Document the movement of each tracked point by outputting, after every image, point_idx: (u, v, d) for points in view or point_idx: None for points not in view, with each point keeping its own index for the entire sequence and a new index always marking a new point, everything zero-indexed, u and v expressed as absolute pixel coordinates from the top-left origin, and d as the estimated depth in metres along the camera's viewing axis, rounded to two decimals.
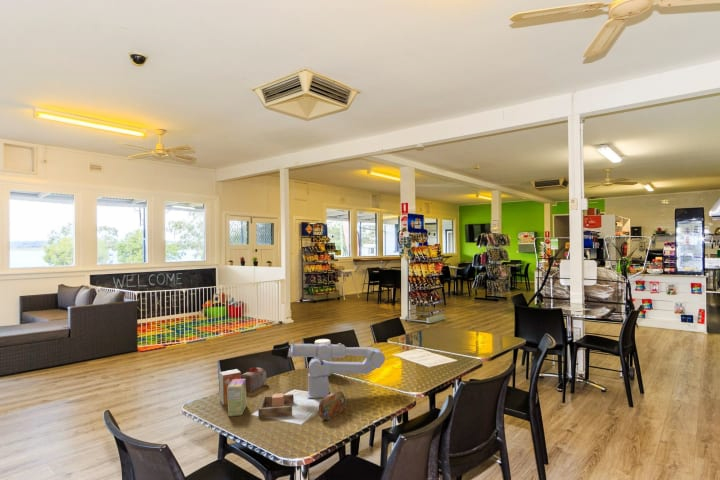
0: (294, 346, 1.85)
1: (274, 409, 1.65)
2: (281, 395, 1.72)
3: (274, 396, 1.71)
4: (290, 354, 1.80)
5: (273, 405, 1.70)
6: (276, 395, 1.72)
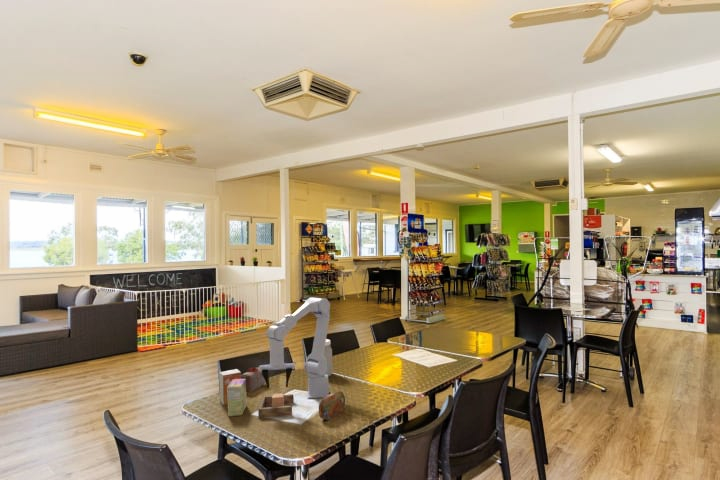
0: (281, 364, 1.71)
1: (274, 409, 1.65)
2: (281, 395, 1.72)
3: (274, 396, 1.71)
4: (294, 366, 1.73)
5: (273, 405, 1.70)
6: (276, 395, 1.72)
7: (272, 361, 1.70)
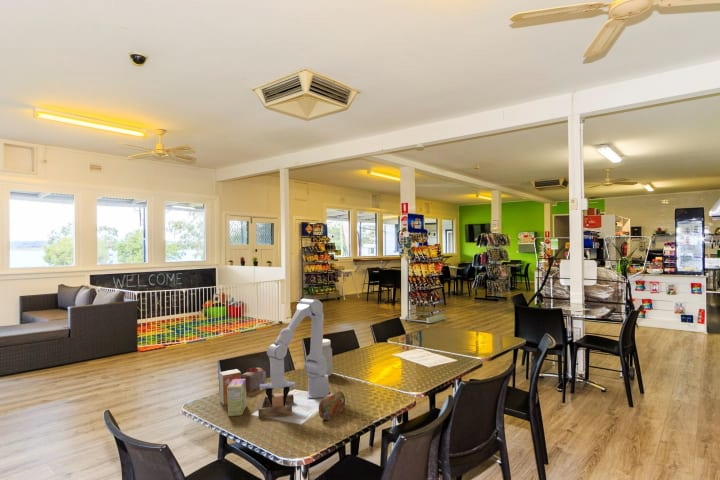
0: (281, 383, 1.71)
1: (274, 409, 1.65)
2: (281, 395, 1.72)
3: (274, 396, 1.71)
4: None
5: (273, 405, 1.70)
6: (276, 395, 1.72)
7: (273, 380, 1.70)
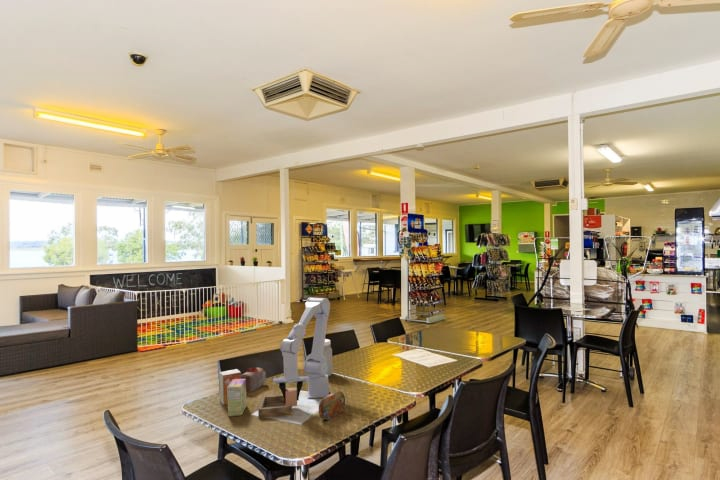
0: (295, 378, 1.71)
1: (274, 409, 1.65)
2: (294, 389, 1.73)
3: (287, 390, 1.72)
4: (308, 379, 1.74)
5: (287, 399, 1.71)
6: (289, 389, 1.73)
7: (286, 374, 1.71)
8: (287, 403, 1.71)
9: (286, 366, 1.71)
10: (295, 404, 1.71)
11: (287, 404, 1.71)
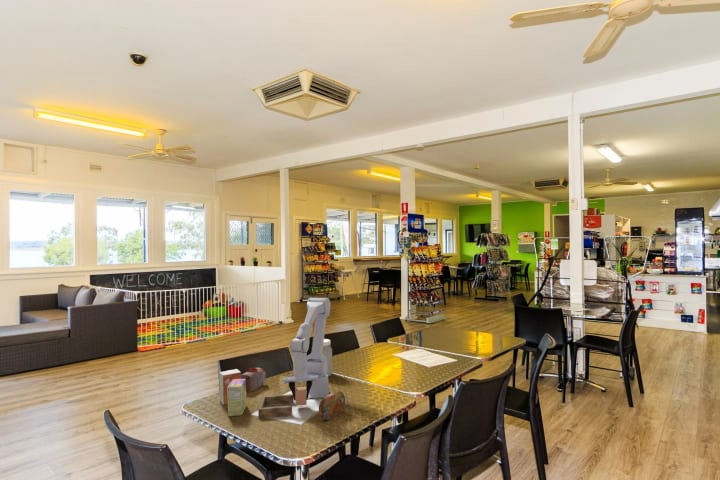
0: (304, 377, 1.72)
1: (274, 409, 1.65)
2: (304, 388, 1.73)
3: (297, 389, 1.72)
4: (317, 378, 1.74)
5: (296, 398, 1.71)
6: (299, 388, 1.74)
7: (296, 374, 1.71)
8: (297, 402, 1.71)
9: (297, 365, 1.71)
10: (305, 403, 1.71)
11: (297, 403, 1.71)
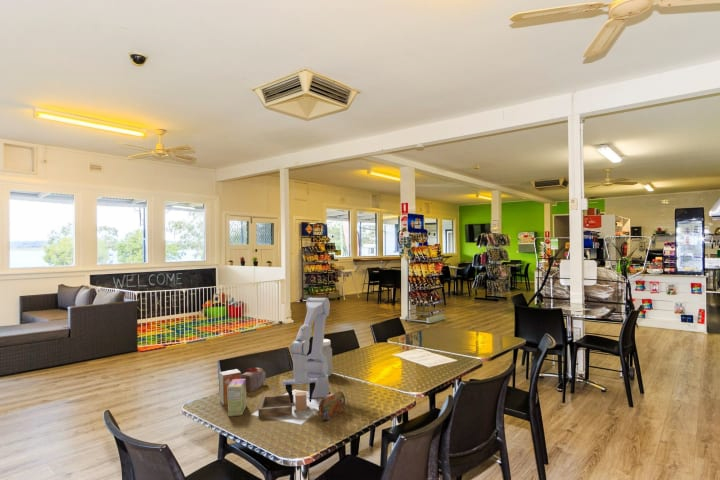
0: (304, 379, 1.72)
1: (274, 409, 1.65)
2: (304, 393, 1.73)
3: (297, 394, 1.72)
4: (317, 381, 1.74)
5: (296, 403, 1.71)
6: (299, 393, 1.73)
7: (296, 376, 1.71)
8: (297, 407, 1.71)
9: (297, 368, 1.71)
10: (305, 408, 1.71)
11: (297, 408, 1.71)
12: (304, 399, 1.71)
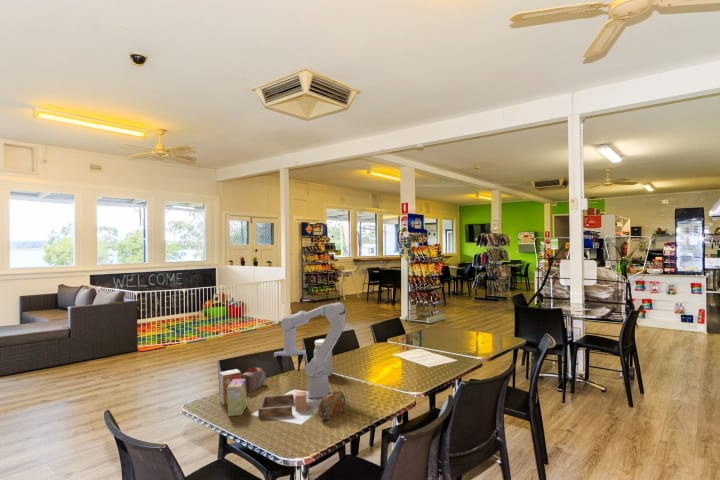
0: (293, 351, 1.92)
1: (274, 409, 1.65)
2: (304, 393, 1.73)
3: (297, 394, 1.72)
4: (305, 353, 1.95)
5: (296, 403, 1.71)
6: (299, 393, 1.73)
7: (286, 348, 1.91)
8: (297, 407, 1.71)
9: None
10: (305, 408, 1.71)
11: (297, 408, 1.71)
12: (304, 399, 1.71)
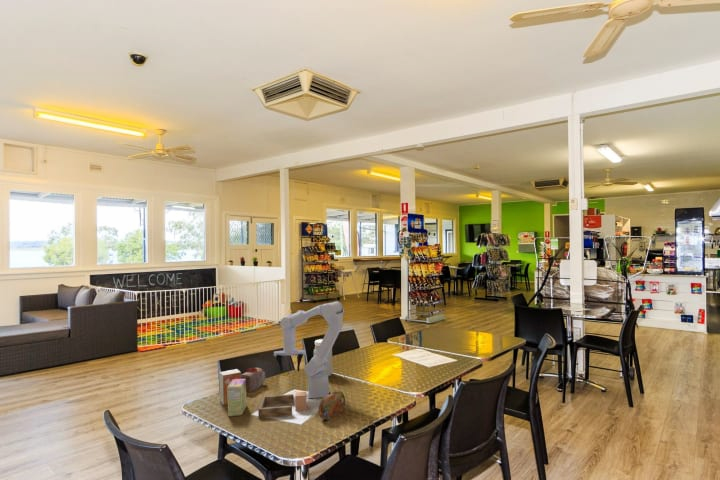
0: (292, 351, 1.93)
1: (274, 409, 1.65)
2: (304, 393, 1.73)
3: (297, 394, 1.72)
4: None
5: (296, 403, 1.71)
6: (299, 393, 1.73)
7: (285, 347, 1.93)
8: (297, 407, 1.71)
9: None
10: (305, 408, 1.71)
11: (297, 408, 1.71)
12: (304, 399, 1.71)
